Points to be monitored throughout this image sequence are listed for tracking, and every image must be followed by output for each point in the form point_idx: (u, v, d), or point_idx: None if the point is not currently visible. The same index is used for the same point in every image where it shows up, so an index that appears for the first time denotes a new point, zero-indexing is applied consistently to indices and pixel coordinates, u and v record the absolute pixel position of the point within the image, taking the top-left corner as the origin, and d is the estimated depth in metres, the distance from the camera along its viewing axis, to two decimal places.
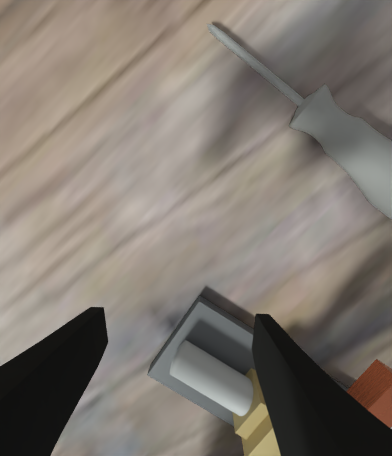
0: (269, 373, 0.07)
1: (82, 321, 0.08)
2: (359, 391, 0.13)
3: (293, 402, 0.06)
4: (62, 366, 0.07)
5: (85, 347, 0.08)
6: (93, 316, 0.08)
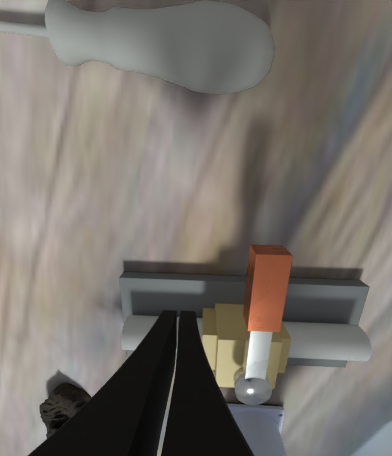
0: None
1: (167, 325, 0.08)
2: (248, 283, 0.12)
3: None
4: (162, 371, 0.06)
5: (170, 351, 0.08)
6: (173, 319, 0.08)
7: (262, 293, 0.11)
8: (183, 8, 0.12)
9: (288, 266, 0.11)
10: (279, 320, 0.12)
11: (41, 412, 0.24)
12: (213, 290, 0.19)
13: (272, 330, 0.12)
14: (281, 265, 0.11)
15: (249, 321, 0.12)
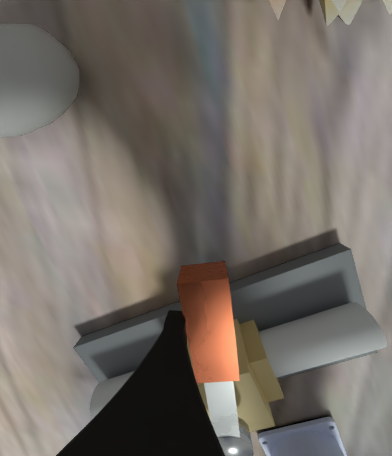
0: None
1: (179, 325, 0.08)
2: None
3: None
4: None
5: None
6: None
7: (201, 334, 0.08)
8: None
9: (227, 294, 0.08)
10: (235, 365, 0.09)
11: None
12: None
13: (229, 379, 0.09)
14: (216, 294, 0.08)
15: (195, 372, 0.09)
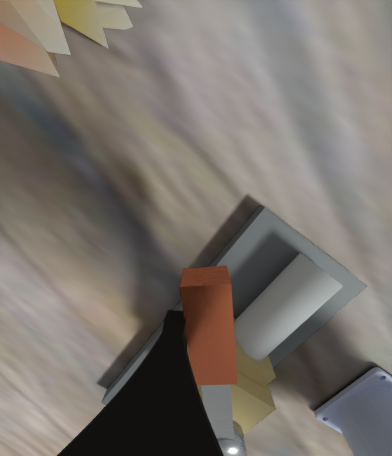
0: None
1: (180, 325, 0.08)
2: None
3: None
4: None
5: None
6: (185, 320, 0.08)
7: (201, 337, 0.08)
8: None
9: (228, 298, 0.08)
10: (233, 369, 0.09)
11: None
12: None
13: (226, 382, 0.09)
14: (218, 298, 0.08)
15: (193, 374, 0.09)
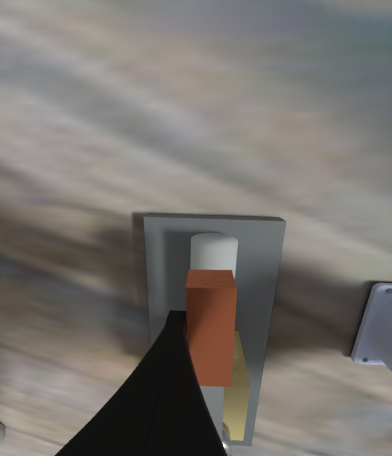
0: None
1: (179, 325, 0.08)
2: None
3: None
4: None
5: None
6: (184, 320, 0.08)
7: (201, 338, 0.08)
8: None
9: (232, 303, 0.08)
10: (229, 372, 0.09)
11: None
12: None
13: (221, 385, 0.09)
14: (222, 302, 0.08)
15: None
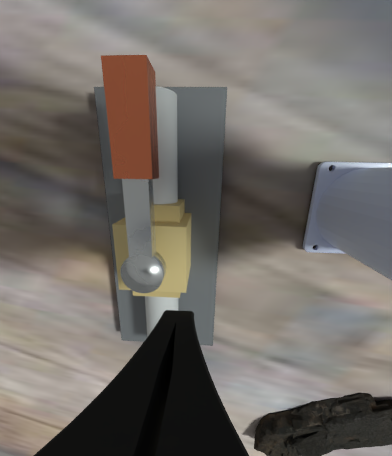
0: None
1: (169, 325, 0.08)
2: None
3: None
4: (165, 371, 0.06)
5: (173, 351, 0.08)
6: (176, 320, 0.08)
7: (120, 118, 0.09)
8: None
9: (144, 73, 0.09)
10: (148, 161, 0.10)
11: None
12: None
13: (142, 176, 0.10)
14: (135, 72, 0.09)
15: (113, 164, 0.10)
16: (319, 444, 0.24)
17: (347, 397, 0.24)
